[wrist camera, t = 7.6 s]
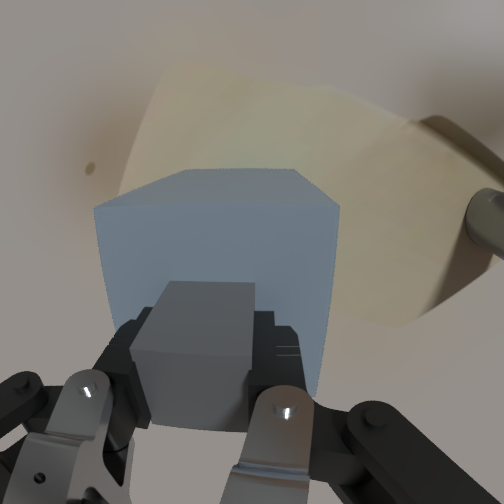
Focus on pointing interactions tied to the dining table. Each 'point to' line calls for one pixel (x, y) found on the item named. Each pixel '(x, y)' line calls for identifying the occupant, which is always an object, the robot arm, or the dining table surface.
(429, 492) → the robot arm
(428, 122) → the dining table surface
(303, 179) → the cover
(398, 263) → the dining table surface
